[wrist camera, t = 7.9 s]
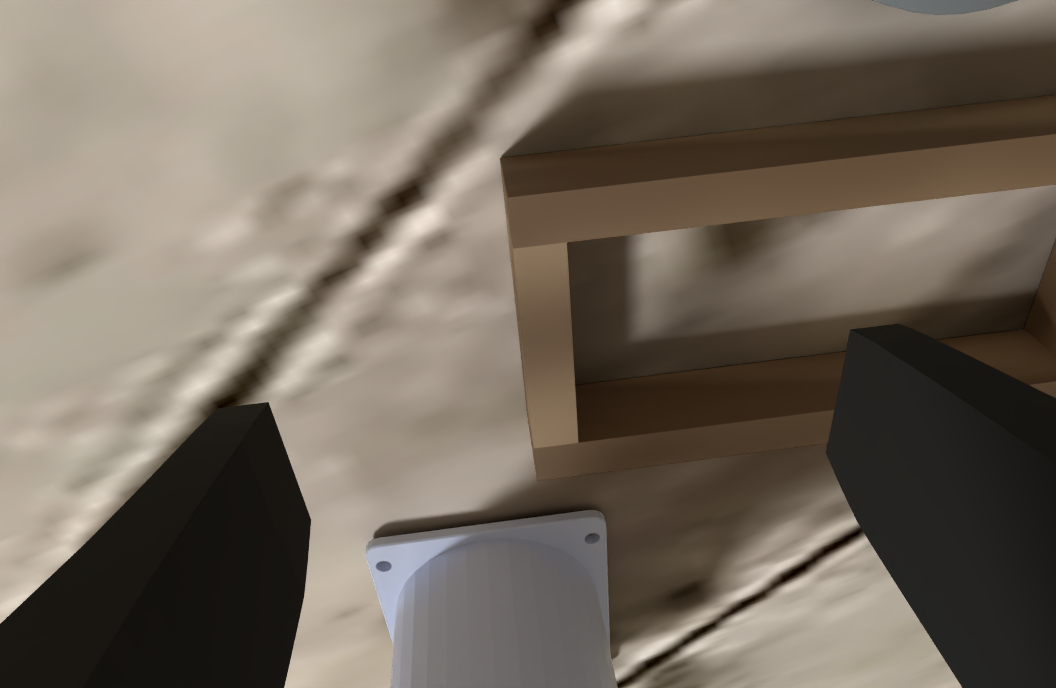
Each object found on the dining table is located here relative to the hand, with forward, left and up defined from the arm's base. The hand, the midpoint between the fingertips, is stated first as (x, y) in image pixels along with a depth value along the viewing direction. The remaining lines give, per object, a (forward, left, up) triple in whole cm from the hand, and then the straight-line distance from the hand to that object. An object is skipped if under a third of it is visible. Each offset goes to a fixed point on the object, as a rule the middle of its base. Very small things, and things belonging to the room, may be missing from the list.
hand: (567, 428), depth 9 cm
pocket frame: (-4, -8, -10) cm, 13 cm away
